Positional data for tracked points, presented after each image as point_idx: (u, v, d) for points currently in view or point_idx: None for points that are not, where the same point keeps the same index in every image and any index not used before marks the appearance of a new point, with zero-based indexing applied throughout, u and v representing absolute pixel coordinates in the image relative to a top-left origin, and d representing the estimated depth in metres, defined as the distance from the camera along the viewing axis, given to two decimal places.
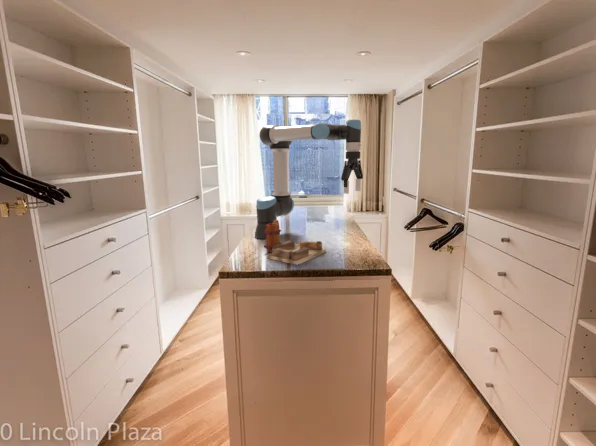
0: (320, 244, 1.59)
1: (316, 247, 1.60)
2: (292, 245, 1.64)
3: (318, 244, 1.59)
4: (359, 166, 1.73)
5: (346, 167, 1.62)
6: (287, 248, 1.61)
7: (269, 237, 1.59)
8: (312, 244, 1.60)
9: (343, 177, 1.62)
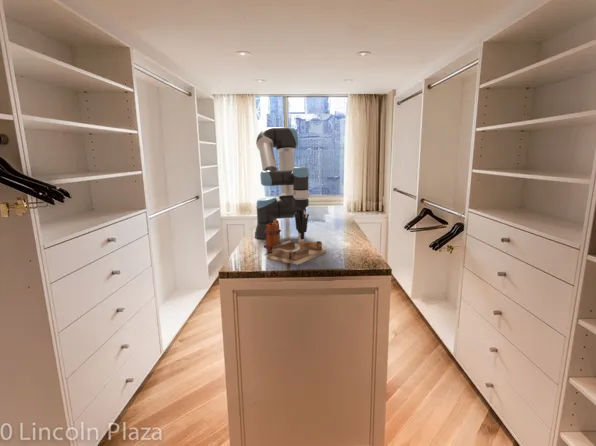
0: (320, 244, 1.59)
1: (316, 247, 1.60)
2: (292, 245, 1.64)
3: (318, 244, 1.59)
4: None
5: None
6: (287, 248, 1.61)
7: (269, 237, 1.59)
8: (312, 244, 1.60)
9: None
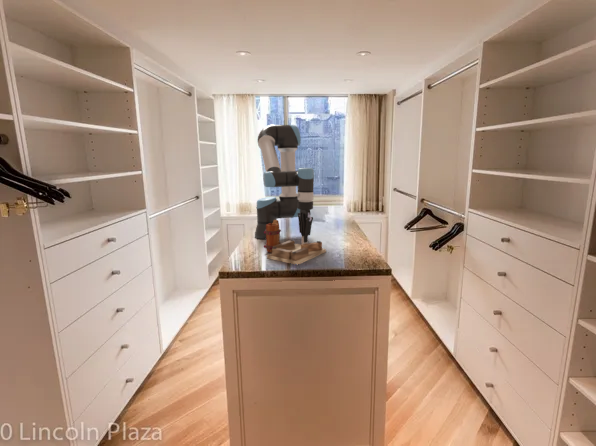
0: (321, 244, 1.60)
1: (318, 247, 1.59)
2: (292, 245, 1.64)
3: (320, 244, 1.59)
4: None
5: None
6: (287, 248, 1.61)
7: (269, 237, 1.59)
8: (314, 245, 1.58)
9: None
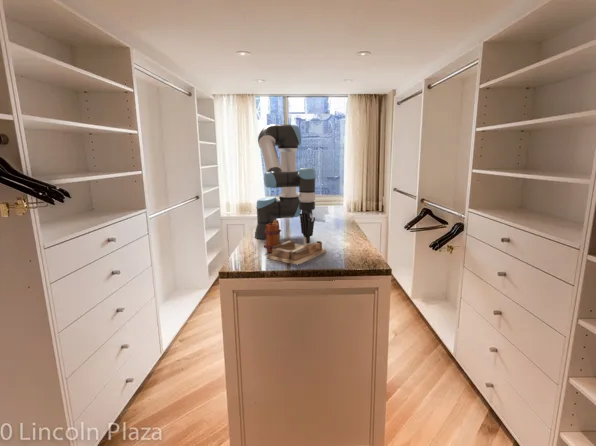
0: (321, 243, 1.60)
1: (319, 247, 1.59)
2: (292, 245, 1.64)
3: (321, 244, 1.60)
4: None
5: None
6: (287, 248, 1.61)
7: (269, 237, 1.59)
8: (317, 245, 1.57)
9: None
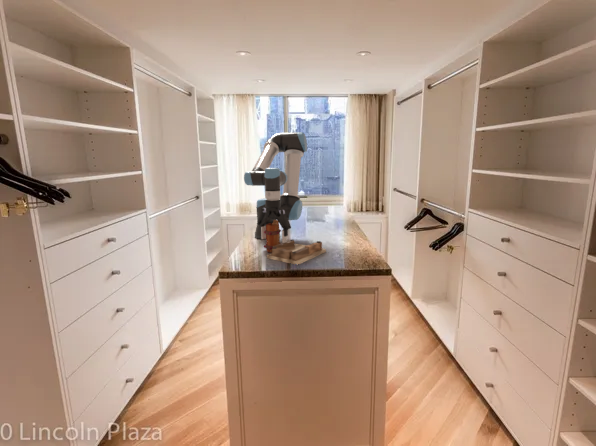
0: (321, 243, 1.60)
1: (319, 247, 1.59)
2: (292, 245, 1.64)
3: (321, 244, 1.60)
4: (281, 216, 1.58)
5: None
6: (287, 248, 1.61)
7: (269, 237, 1.59)
8: (317, 245, 1.57)
9: None
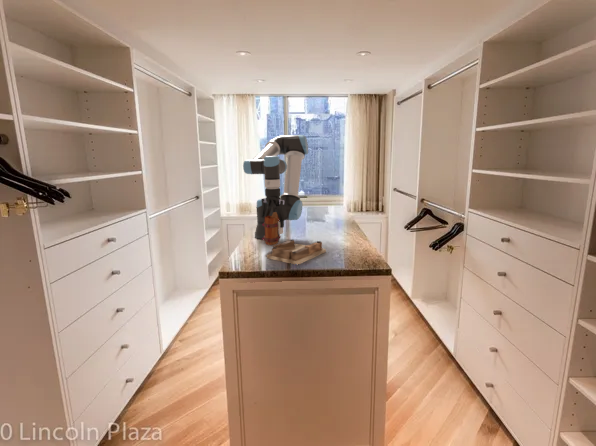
0: (321, 243, 1.60)
1: (319, 247, 1.59)
2: (292, 245, 1.64)
3: (321, 244, 1.60)
4: None
5: None
6: (287, 248, 1.61)
7: (267, 230, 1.59)
8: (317, 245, 1.57)
9: None
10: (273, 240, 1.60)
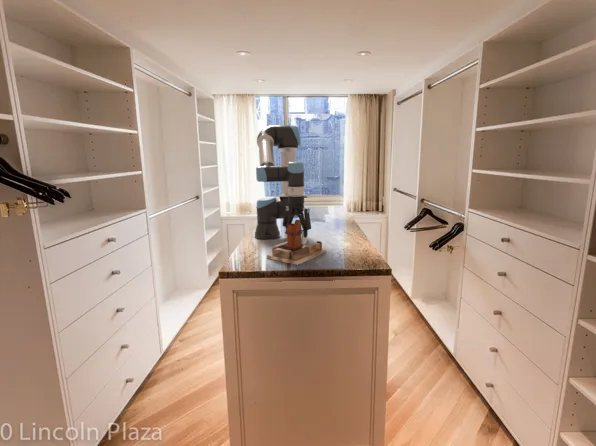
0: (321, 243, 1.60)
1: (319, 247, 1.59)
2: None
3: (321, 244, 1.60)
4: None
5: None
6: None
7: (290, 238, 1.51)
8: (317, 245, 1.57)
9: None
10: (296, 249, 1.51)
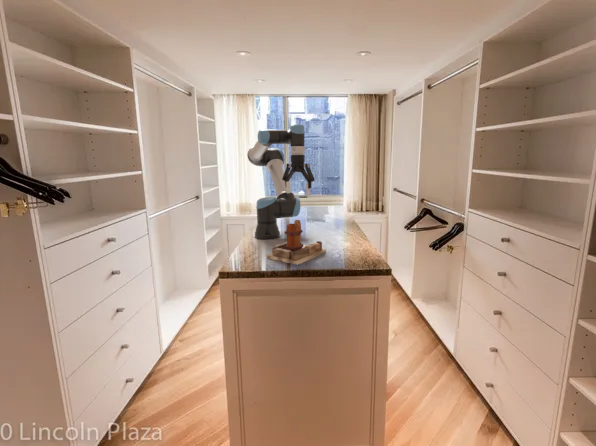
0: (321, 243, 1.60)
1: (319, 247, 1.59)
2: None
3: (321, 244, 1.60)
4: (306, 169, 1.71)
5: None
6: None
7: (290, 238, 1.51)
8: (317, 245, 1.57)
9: None
10: (296, 249, 1.51)
